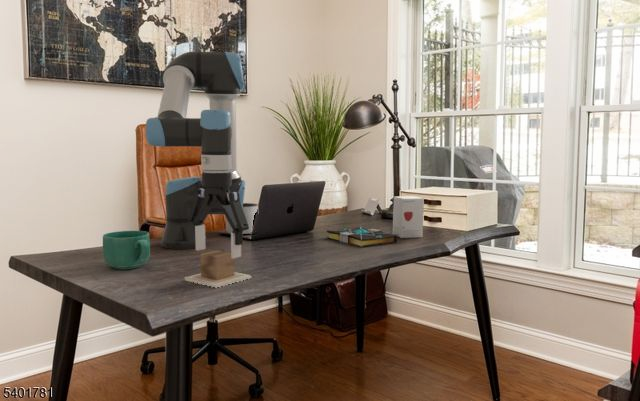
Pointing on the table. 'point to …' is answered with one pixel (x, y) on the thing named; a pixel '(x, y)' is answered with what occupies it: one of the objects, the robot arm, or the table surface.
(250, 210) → the planter
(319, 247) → the table surface
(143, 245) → the mug
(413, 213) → the supplement box
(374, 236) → the book
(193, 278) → the coaster
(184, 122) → the robot arm
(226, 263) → the walnut cube
